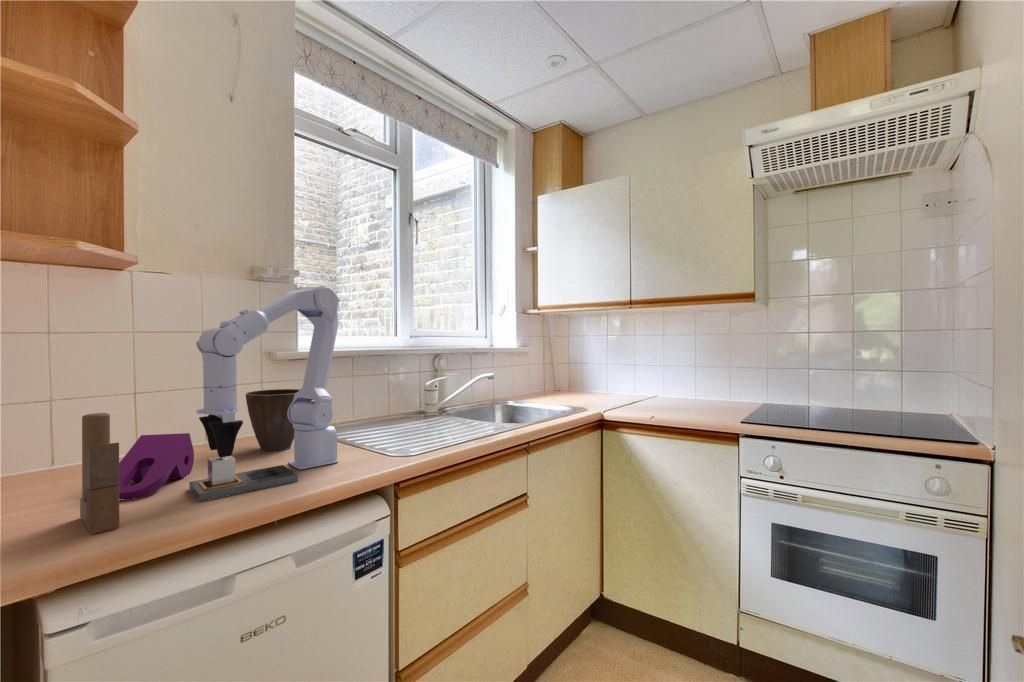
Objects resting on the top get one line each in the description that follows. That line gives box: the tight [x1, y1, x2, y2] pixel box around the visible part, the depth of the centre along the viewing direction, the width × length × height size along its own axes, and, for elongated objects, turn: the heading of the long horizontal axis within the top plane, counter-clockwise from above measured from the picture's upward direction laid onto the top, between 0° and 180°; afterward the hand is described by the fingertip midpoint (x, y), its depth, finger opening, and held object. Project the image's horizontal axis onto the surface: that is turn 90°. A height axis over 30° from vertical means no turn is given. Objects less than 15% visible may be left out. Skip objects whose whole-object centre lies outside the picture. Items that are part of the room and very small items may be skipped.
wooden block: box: [79, 412, 120, 535], centre depth 76 cm, size 4×11×18 cm, turn 50°
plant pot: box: [245, 388, 300, 452], centre depth 128 cm, size 15×15×16 cm
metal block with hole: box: [207, 455, 236, 488], centre depth 93 cm, size 4×4×7 cm
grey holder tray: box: [188, 464, 299, 502], centre depth 96 cm, size 18×10×2 cm, turn 134°
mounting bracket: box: [119, 432, 195, 500], centre depth 96 cm, size 9×8×18 cm
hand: (220, 452), depth 93 cm, fingers open, 7 cm apart
